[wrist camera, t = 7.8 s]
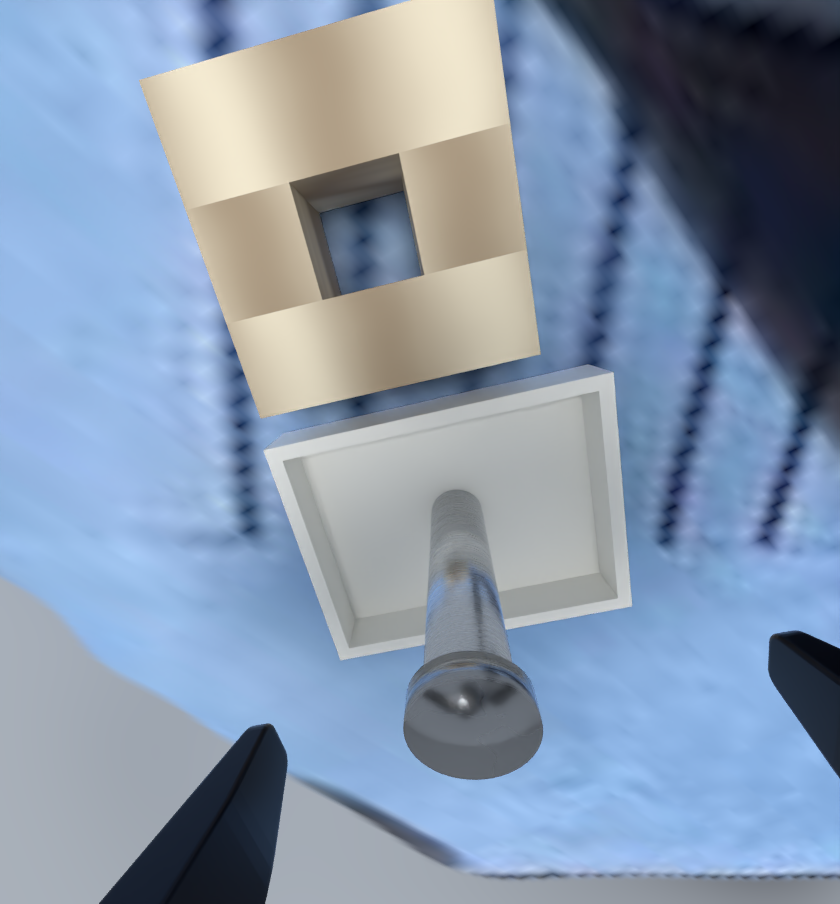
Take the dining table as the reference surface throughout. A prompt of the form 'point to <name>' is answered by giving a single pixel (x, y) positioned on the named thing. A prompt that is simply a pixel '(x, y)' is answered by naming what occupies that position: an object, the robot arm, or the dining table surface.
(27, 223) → the dining table surface
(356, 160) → the block
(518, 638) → the dining table surface
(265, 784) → the robot arm
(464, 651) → the pin
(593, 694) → the dining table surface
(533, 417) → the tray
